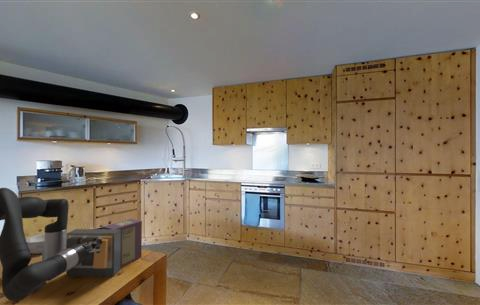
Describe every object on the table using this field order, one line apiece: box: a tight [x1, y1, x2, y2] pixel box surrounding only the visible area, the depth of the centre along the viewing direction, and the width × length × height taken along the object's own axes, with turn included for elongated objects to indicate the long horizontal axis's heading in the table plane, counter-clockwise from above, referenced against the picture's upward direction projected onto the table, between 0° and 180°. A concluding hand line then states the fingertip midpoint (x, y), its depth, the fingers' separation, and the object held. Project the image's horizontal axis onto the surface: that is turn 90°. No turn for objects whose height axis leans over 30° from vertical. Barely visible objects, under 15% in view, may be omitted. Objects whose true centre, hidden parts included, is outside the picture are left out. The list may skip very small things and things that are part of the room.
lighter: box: [30, 281, 47, 295], centre depth 101 cm, size 8×3×10 cm, turn 5°
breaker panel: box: [65, 228, 121, 277], centre depth 113 cm, size 22×8×20 cm, turn 90°
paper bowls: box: [25, 233, 45, 255], centre depth 140 cm, size 15×15×8 cm
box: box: [102, 218, 143, 268], centre depth 127 cm, size 17×9×20 cm, turn 153°
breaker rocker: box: [93, 239, 108, 268], centre depth 108 cm, size 5×3×12 cm, turn 91°
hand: (100, 241), depth 107 cm, fingers closed
